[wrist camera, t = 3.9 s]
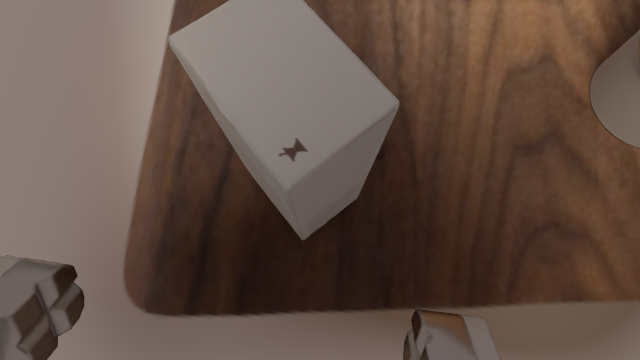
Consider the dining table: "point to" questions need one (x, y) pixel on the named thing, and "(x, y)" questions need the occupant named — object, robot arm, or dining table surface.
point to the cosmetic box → (289, 103)
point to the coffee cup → (619, 92)
